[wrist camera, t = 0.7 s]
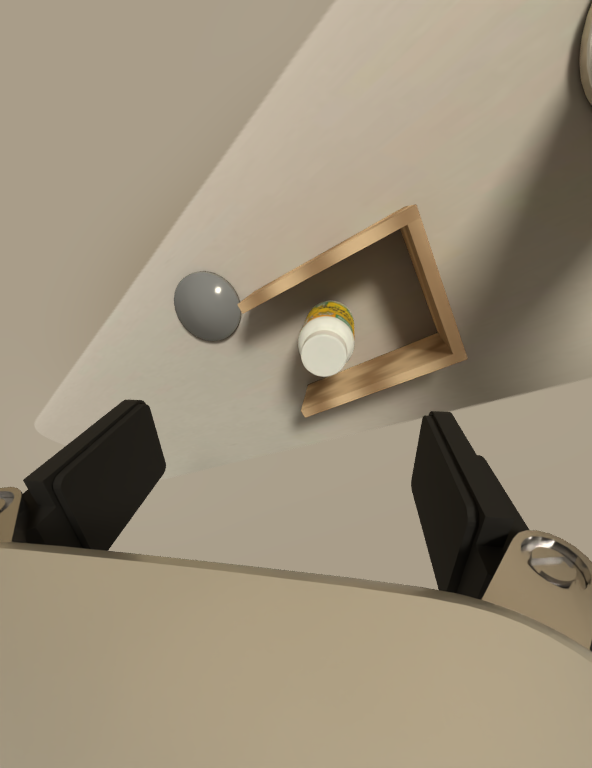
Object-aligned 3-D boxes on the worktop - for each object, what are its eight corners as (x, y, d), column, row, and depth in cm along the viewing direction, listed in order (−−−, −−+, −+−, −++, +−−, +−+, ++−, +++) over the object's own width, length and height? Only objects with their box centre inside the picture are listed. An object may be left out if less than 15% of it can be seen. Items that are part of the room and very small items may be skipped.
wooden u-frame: (404, 206, 28) (416, 204, 23) (450, 336, 33) (467, 359, 28) (254, 291, 35) (237, 304, 29) (311, 391, 39) (305, 417, 34)
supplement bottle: (300, 335, 36) (284, 371, 28) (316, 292, 34) (303, 316, 25) (343, 352, 36) (339, 392, 28) (362, 309, 34) (365, 340, 25)
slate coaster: (215, 257, 34) (213, 258, 33) (254, 322, 36) (252, 323, 36) (163, 291, 36) (160, 292, 36) (202, 349, 39) (200, 350, 39)
